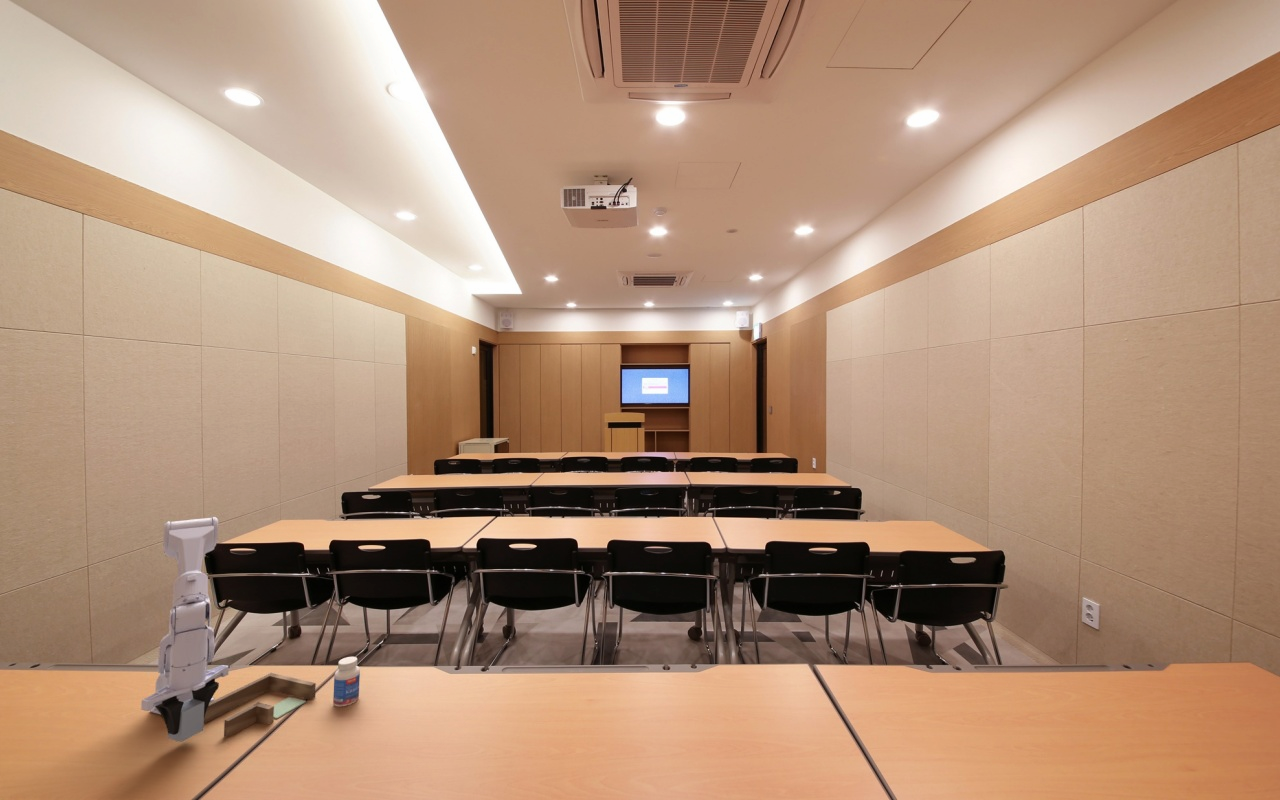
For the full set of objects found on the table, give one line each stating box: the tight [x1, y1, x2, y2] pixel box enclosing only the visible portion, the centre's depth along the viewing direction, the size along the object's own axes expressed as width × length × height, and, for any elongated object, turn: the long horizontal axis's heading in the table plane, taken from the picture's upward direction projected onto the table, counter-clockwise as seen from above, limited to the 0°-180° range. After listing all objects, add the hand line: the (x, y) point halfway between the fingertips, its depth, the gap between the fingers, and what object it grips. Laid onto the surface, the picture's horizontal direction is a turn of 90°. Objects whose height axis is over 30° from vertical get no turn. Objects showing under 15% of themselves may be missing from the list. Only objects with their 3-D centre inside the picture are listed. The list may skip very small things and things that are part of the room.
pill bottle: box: [332, 656, 361, 708], centre depth 120 cm, size 6×5×10 cm
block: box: [167, 699, 204, 743], centre depth 104 cm, size 4×4×6 cm
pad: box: [273, 696, 307, 720], centre depth 117 cm, size 6×7×1 cm
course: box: [204, 672, 317, 738], centre depth 116 cm, size 15×17×4 cm
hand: (186, 726), depth 104 cm, fingers closed on block, 4 cm apart
